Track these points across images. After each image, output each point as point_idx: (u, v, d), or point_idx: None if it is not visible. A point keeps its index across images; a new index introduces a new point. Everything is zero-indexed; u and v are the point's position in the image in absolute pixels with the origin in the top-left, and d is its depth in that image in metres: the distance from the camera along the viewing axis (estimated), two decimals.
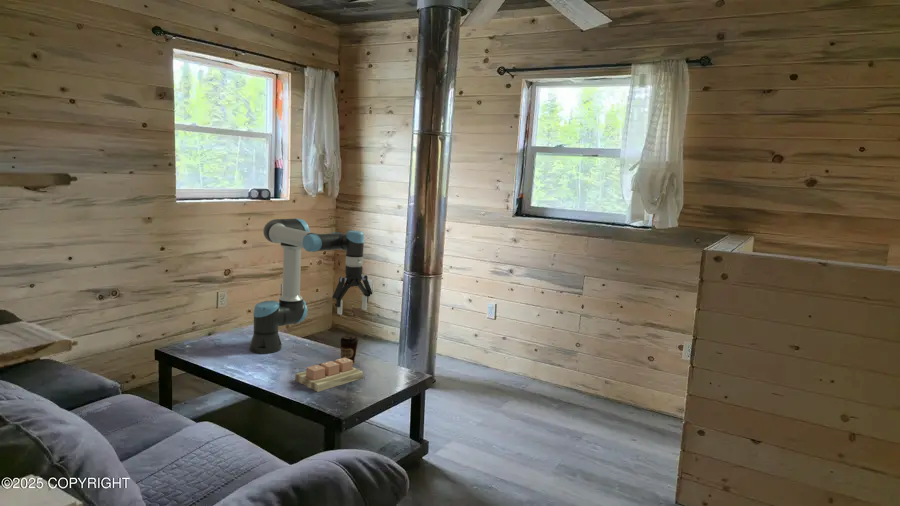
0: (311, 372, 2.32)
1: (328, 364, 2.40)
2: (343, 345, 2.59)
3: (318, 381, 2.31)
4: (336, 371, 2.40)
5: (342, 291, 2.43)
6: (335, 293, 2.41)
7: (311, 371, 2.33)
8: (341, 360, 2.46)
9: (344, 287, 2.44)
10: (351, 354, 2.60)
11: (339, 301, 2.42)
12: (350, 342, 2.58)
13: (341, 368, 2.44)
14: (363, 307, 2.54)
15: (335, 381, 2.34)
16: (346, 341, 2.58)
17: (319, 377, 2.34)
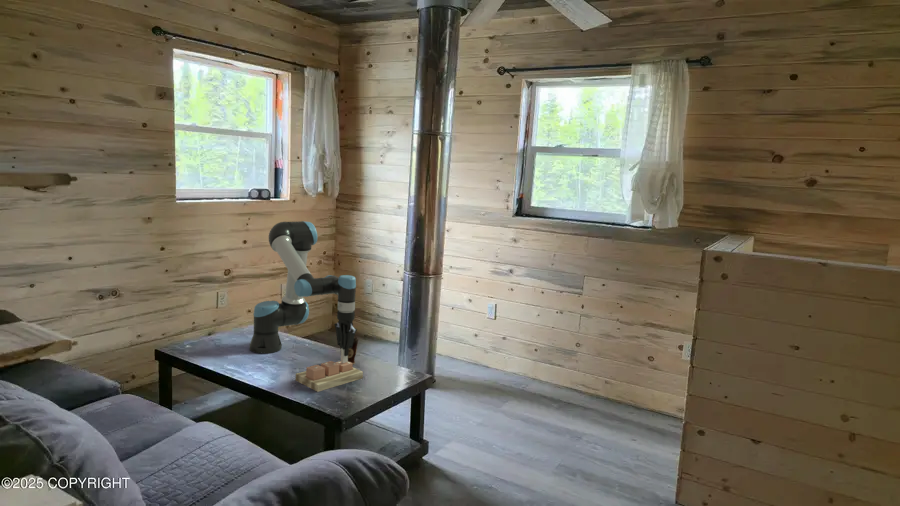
0: (311, 372, 2.32)
1: (328, 364, 2.40)
2: None
3: (318, 381, 2.31)
4: (336, 371, 2.40)
5: None
6: None
7: (311, 371, 2.33)
8: (341, 363, 2.46)
9: None
10: (351, 354, 2.60)
11: None
12: None
13: (340, 370, 2.44)
14: None
15: (335, 381, 2.34)
16: None
17: (319, 377, 2.34)
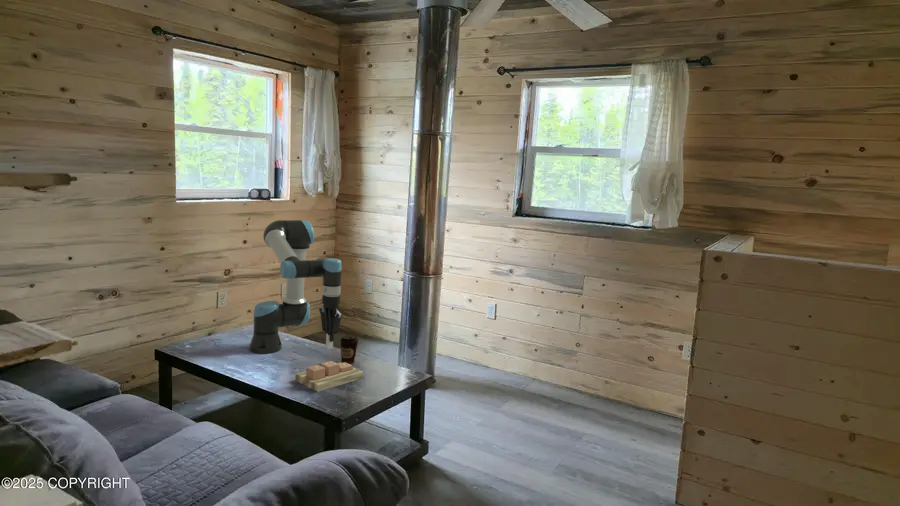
0: (311, 372, 2.32)
1: (328, 364, 2.40)
2: (343, 345, 2.59)
3: (318, 381, 2.31)
4: (336, 371, 2.40)
5: None
6: None
7: (311, 371, 2.33)
8: (341, 365, 2.46)
9: None
10: (351, 354, 2.60)
11: None
12: (350, 342, 2.58)
13: None
14: None
15: (335, 381, 2.34)
16: (346, 341, 2.58)
17: (319, 377, 2.34)
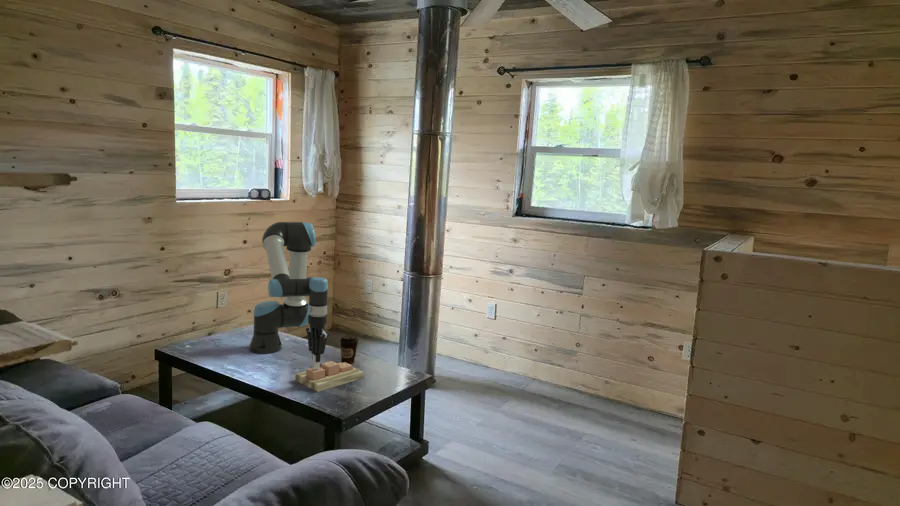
0: (311, 374, 2.32)
1: (328, 364, 2.40)
2: (343, 345, 2.59)
3: (318, 381, 2.31)
4: (336, 371, 2.40)
5: None
6: None
7: (311, 373, 2.33)
8: (341, 365, 2.46)
9: None
10: (351, 354, 2.60)
11: (313, 354, 2.34)
12: (350, 342, 2.58)
13: None
14: None
15: (335, 381, 2.34)
16: (346, 341, 2.58)
17: None
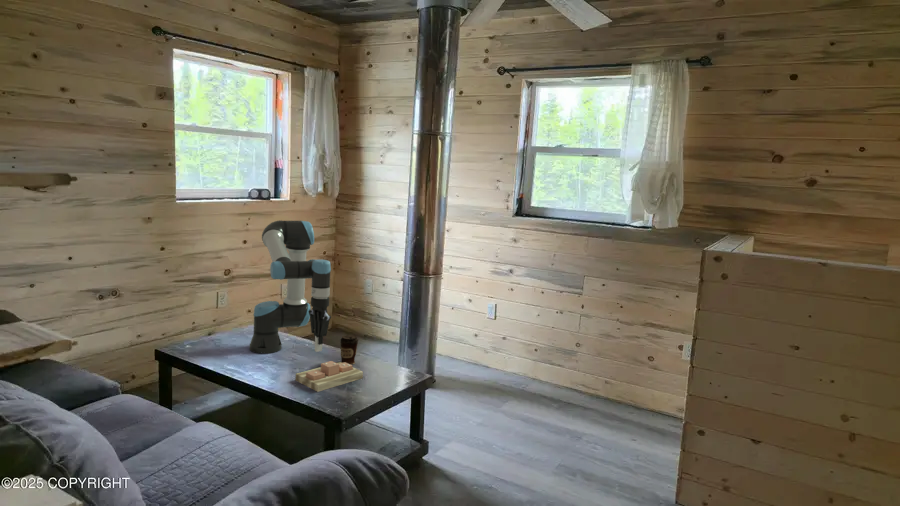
0: (311, 377, 2.33)
1: (328, 364, 2.40)
2: (343, 345, 2.59)
3: (318, 381, 2.31)
4: (336, 371, 2.40)
5: None
6: None
7: (311, 376, 2.33)
8: (341, 365, 2.46)
9: None
10: (351, 354, 2.60)
11: None
12: (350, 342, 2.58)
13: None
14: None
15: (335, 381, 2.34)
16: (346, 341, 2.58)
17: None
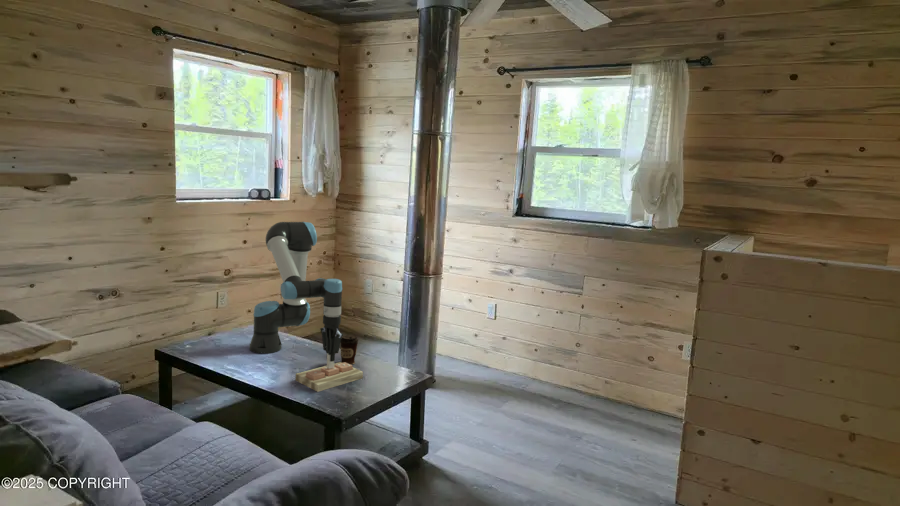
0: (311, 377, 2.33)
1: (328, 369, 2.40)
2: (343, 345, 2.59)
3: (318, 381, 2.31)
4: None
5: None
6: None
7: (311, 376, 2.33)
8: (341, 365, 2.46)
9: None
10: (351, 354, 2.60)
11: None
12: (350, 342, 2.58)
13: None
14: None
15: (335, 381, 2.34)
16: (346, 341, 2.58)
17: None
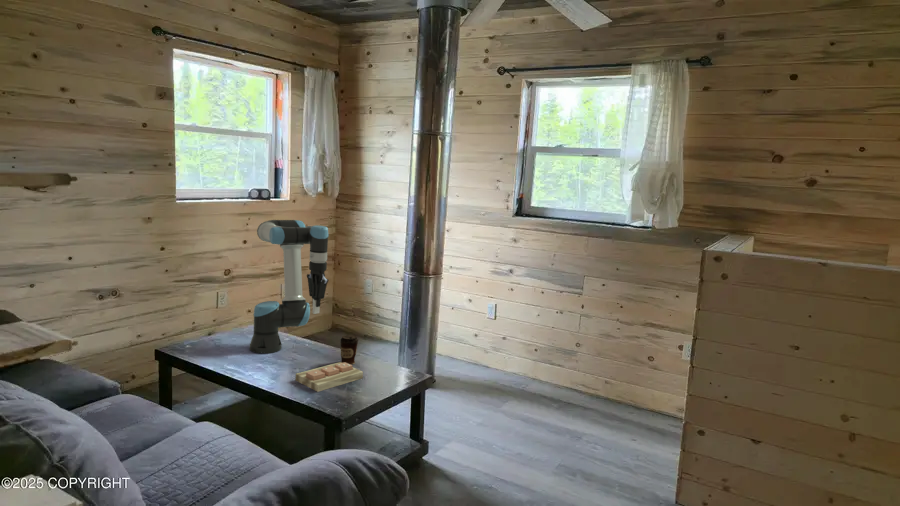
0: (311, 377, 2.33)
1: (328, 369, 2.40)
2: (343, 345, 2.59)
3: (318, 381, 2.31)
4: None
5: None
6: None
7: (311, 376, 2.33)
8: (341, 365, 2.46)
9: None
10: (351, 354, 2.60)
11: (313, 299, 2.45)
12: (350, 342, 2.58)
13: None
14: None
15: (335, 381, 2.34)
16: (346, 341, 2.58)
17: None
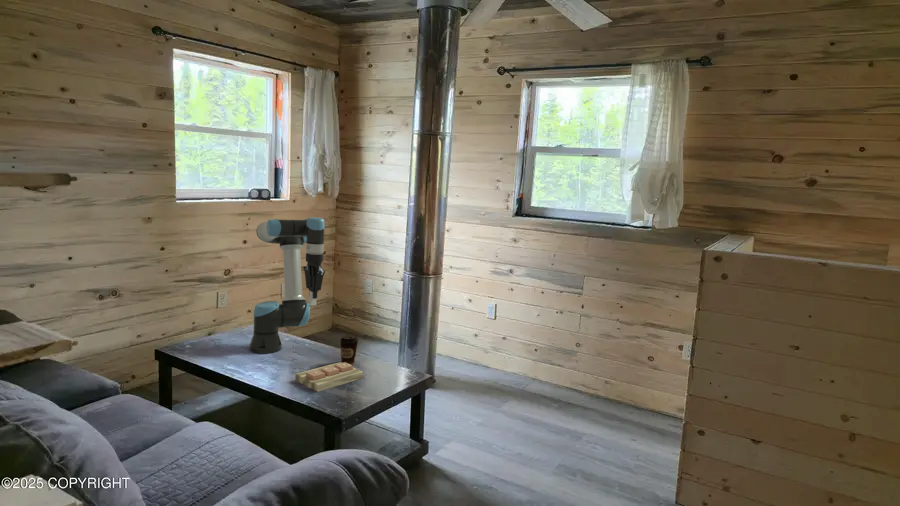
0: (311, 377, 2.33)
1: (328, 369, 2.40)
2: (343, 345, 2.59)
3: (318, 381, 2.31)
4: None
5: None
6: None
7: (311, 376, 2.33)
8: (341, 365, 2.46)
9: None
10: (351, 354, 2.60)
11: None
12: (350, 342, 2.58)
13: None
14: None
15: (335, 381, 2.34)
16: (346, 341, 2.58)
17: None
